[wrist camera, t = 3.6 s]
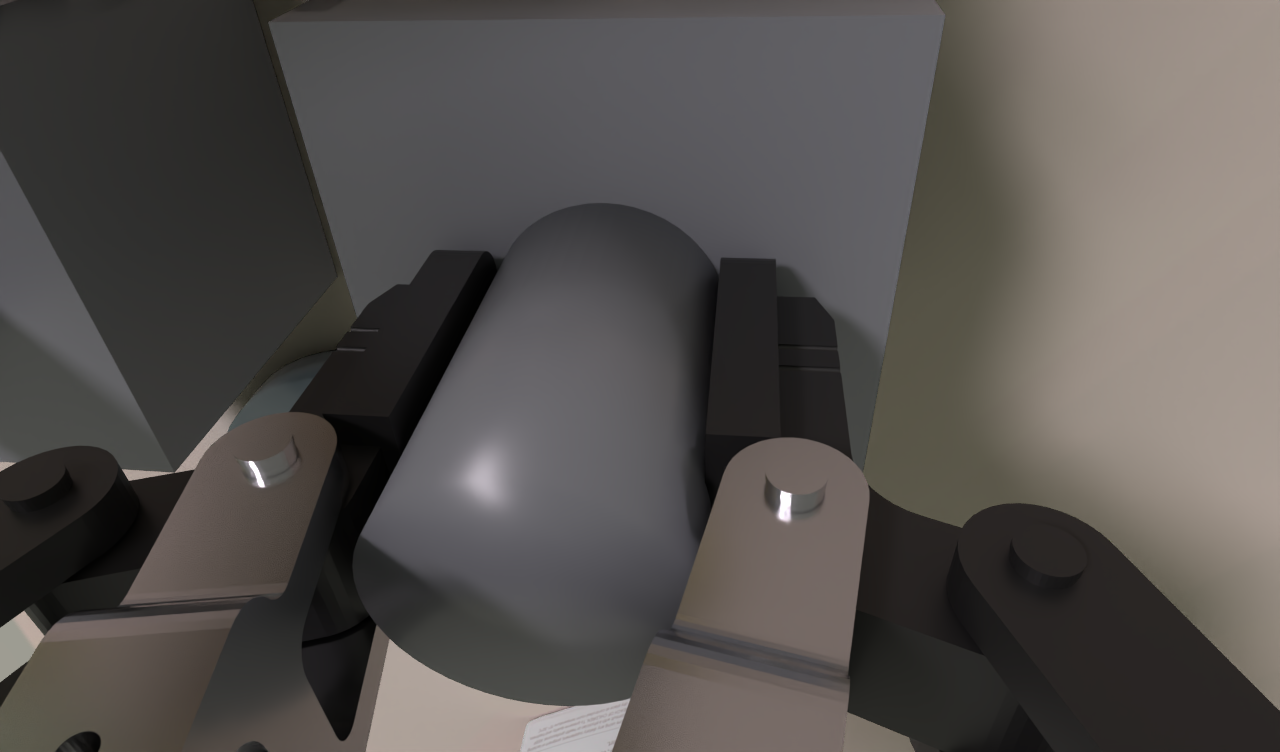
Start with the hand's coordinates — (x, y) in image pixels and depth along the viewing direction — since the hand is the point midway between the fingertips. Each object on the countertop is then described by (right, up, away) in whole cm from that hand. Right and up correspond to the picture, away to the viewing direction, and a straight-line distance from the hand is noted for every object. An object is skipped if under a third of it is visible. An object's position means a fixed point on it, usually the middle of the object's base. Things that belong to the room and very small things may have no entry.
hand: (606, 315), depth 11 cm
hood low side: (+1, +4, +6) cm, 7 cm away
